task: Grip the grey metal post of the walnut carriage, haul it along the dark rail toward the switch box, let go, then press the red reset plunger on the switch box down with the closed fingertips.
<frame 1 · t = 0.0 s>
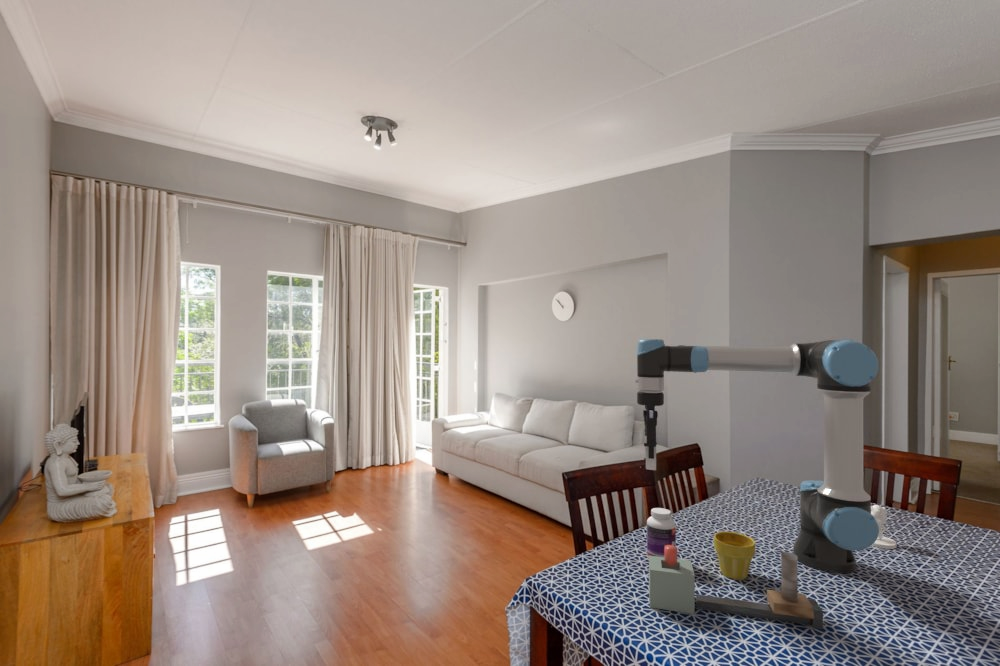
hand: (650, 463, 142), 28 cm above the table, fingers open, 13 cm apart
carriage: (789, 581, 112), point 8 cm above the table, slide at 0.0 cm, touching rail
plunger: (670, 555, 119), point 11 cm above the table, slide at 0.0 cm
pill bottle: (661, 561, 141), on the table
switch box: (670, 601, 119), on the table
rail: (751, 613, 114), on the table
plant pot: (734, 574, 133), on the table
figurine: (878, 543, 155), on the table
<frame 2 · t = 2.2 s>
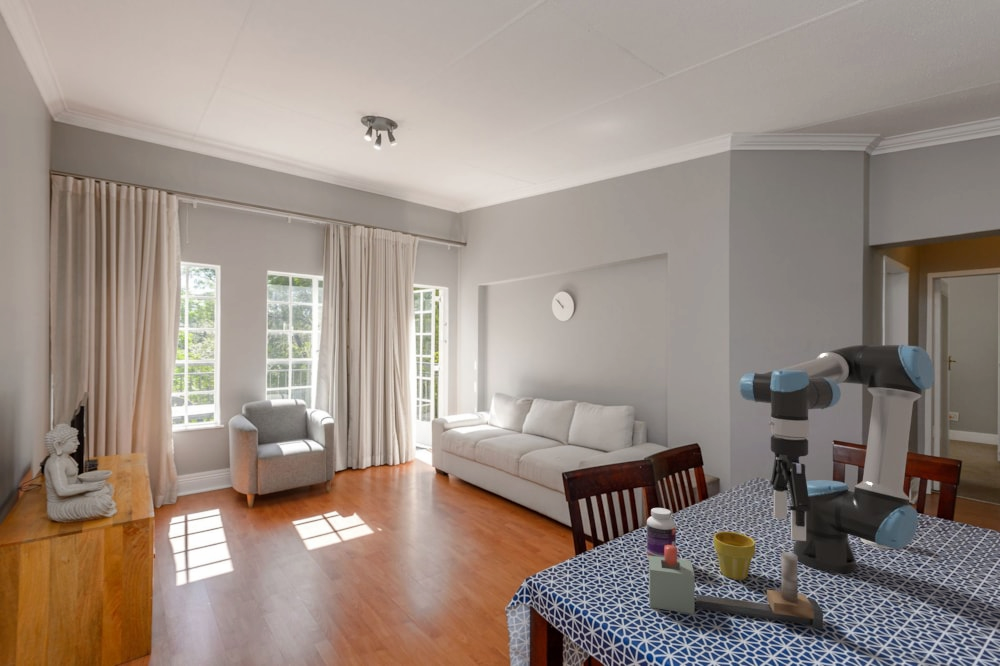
hand: (788, 528, 112), 21 cm above the table, fingers open, 13 cm apart
nothing on the table moved.
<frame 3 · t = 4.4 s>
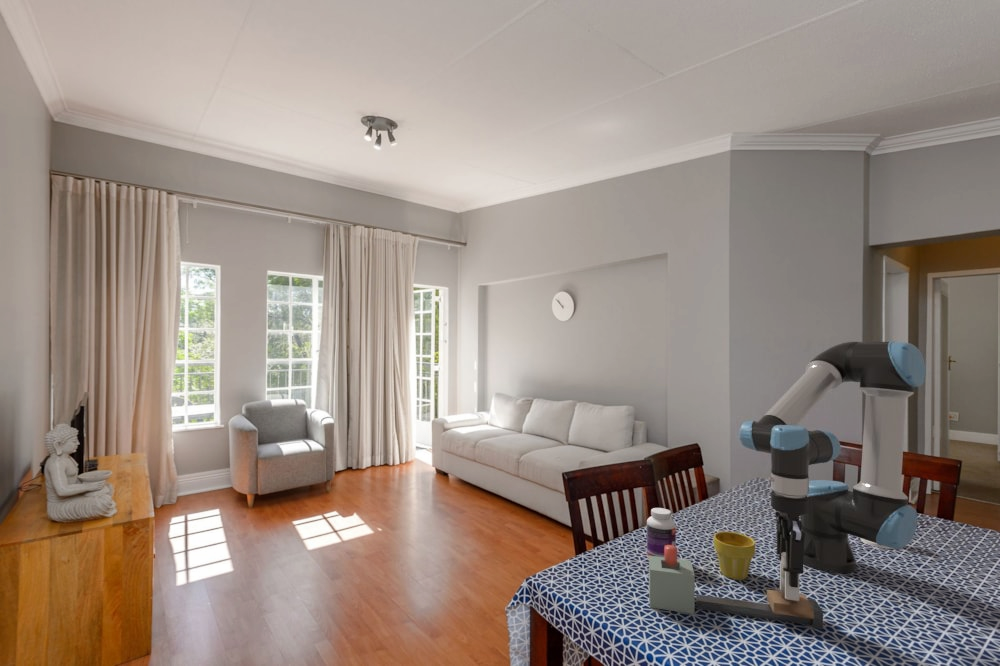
hand: (789, 594, 112), 6 cm above the table, fingers closed on carriage, 3 cm apart
carriage: (789, 581, 112), point 8 cm above the table, slide at 0.0 cm, touching gripper
everything else where it was.
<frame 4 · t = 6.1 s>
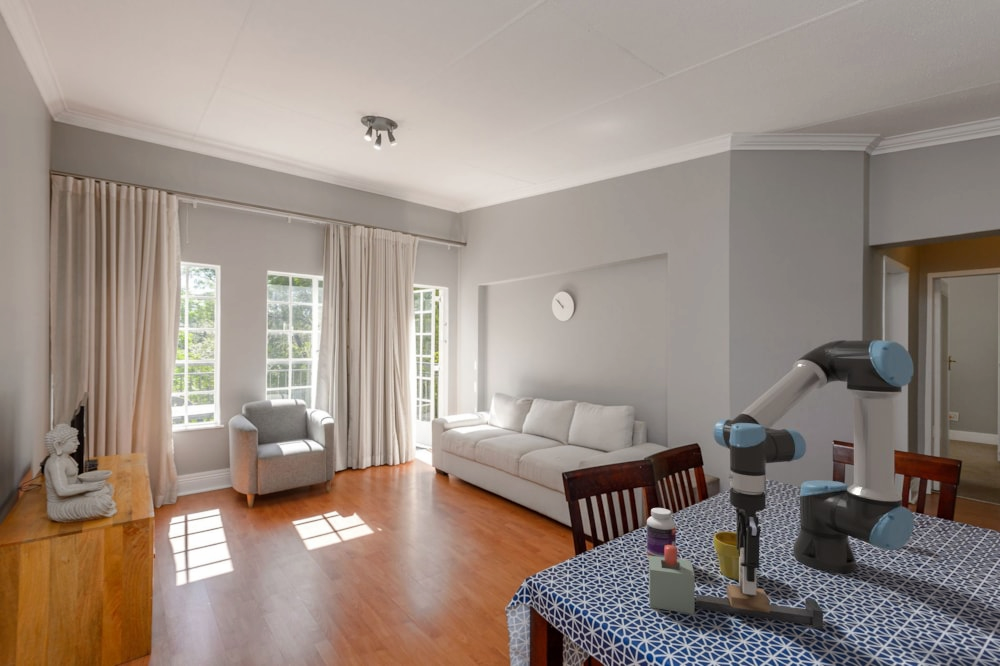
hand: (747, 589, 114), 6 cm above the table, fingers closed on carriage, 3 cm apart
carriage: (747, 576, 114), point 8 cm above the table, slide at 8.8 cm, touching gripper
everything else where it was.
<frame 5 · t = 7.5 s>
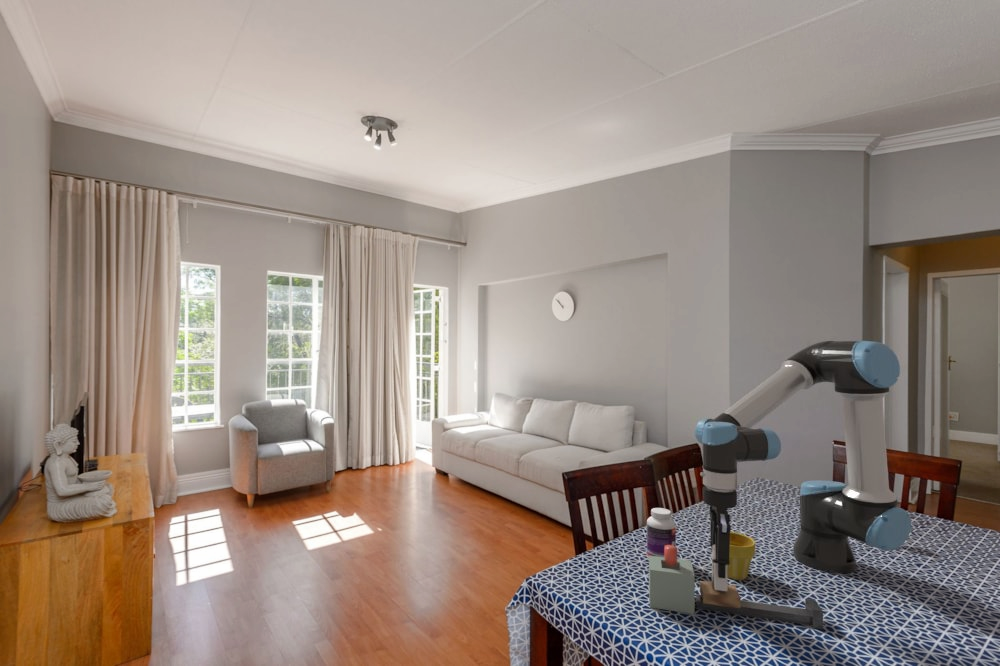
hand: (719, 585, 116), 6 cm above the table, fingers closed on carriage, 3 cm apart
carriage: (719, 573, 116), point 9 cm above the table, slide at 14.9 cm, touching gripper
everything else where it was.
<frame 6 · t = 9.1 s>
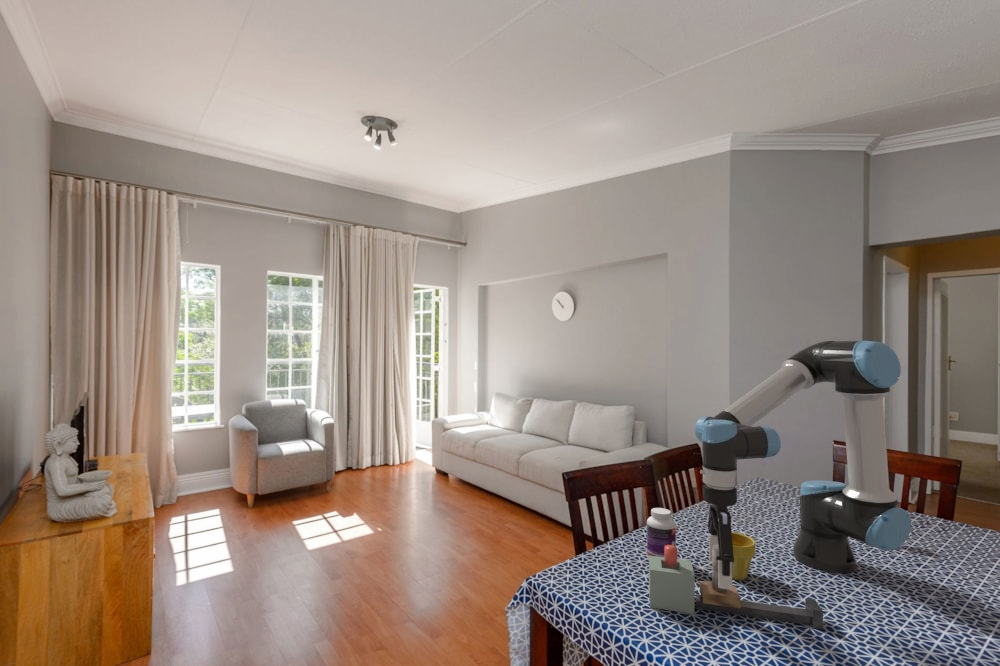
hand: (719, 574, 116), 8 cm above the table, fingers open, 13 cm apart
carriage: (719, 573, 116), point 9 cm above the table, slide at 15.0 cm
everything else where it was.
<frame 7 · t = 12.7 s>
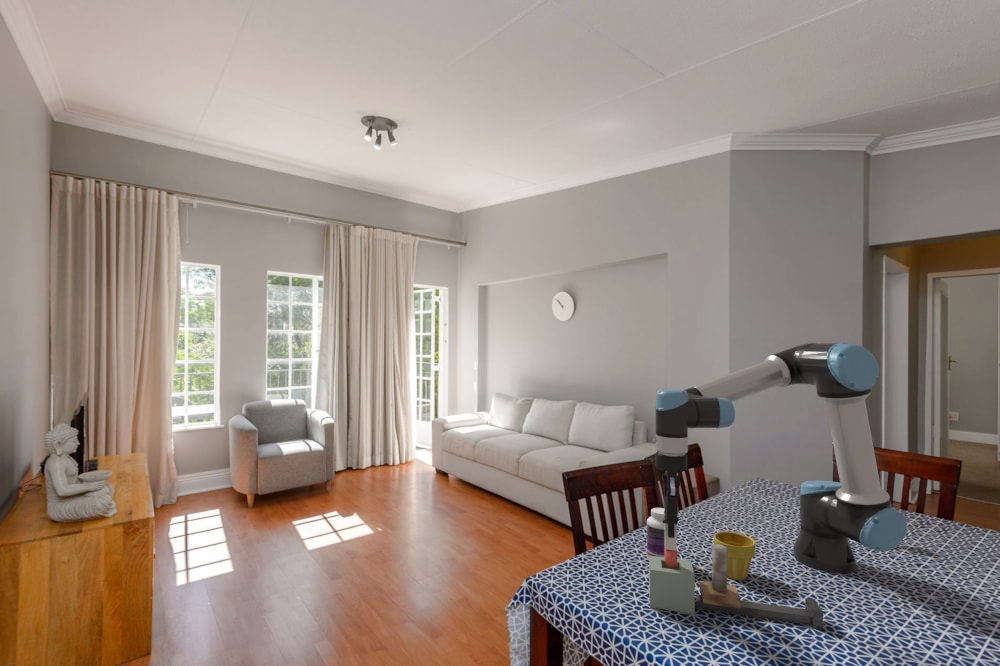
hand: (670, 548, 119), 13 cm above the table, fingers closed
plunger: (670, 557, 119), point 11 cm above the table, slide at 0.6 cm, touching gripper
everything else where it was.
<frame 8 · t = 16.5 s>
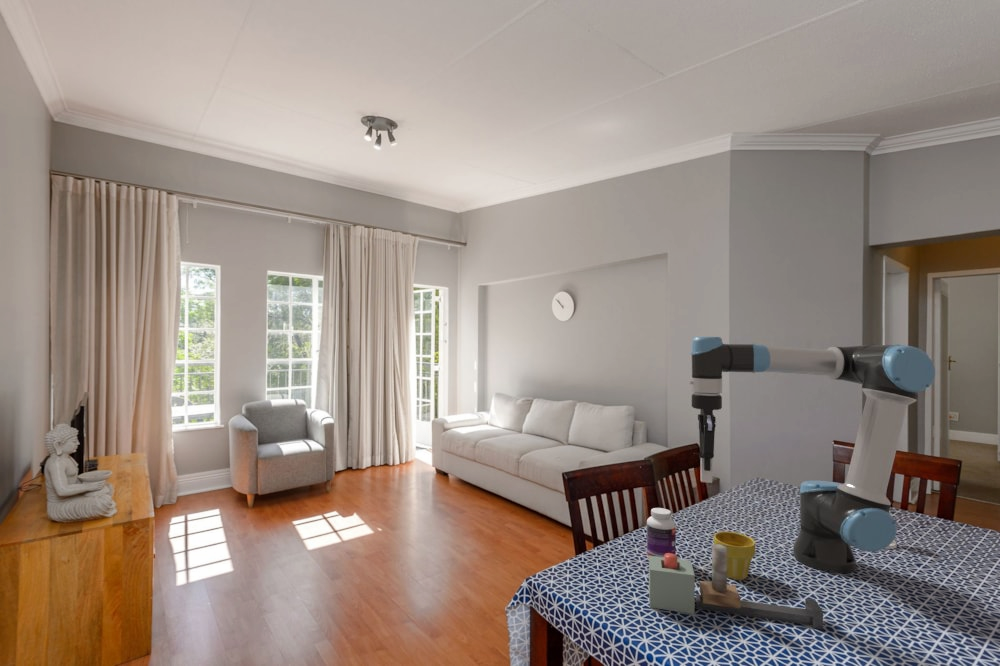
hand: (706, 481, 130), 26 cm above the table, fingers closed
plunger: (670, 563, 119), point 9 cm above the table, slide at 2.0 cm
everything else where it was.
at the end: carriage slide at 15.0 cm; plunger slide at 2.0 cm; the gripper is holding nothing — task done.
